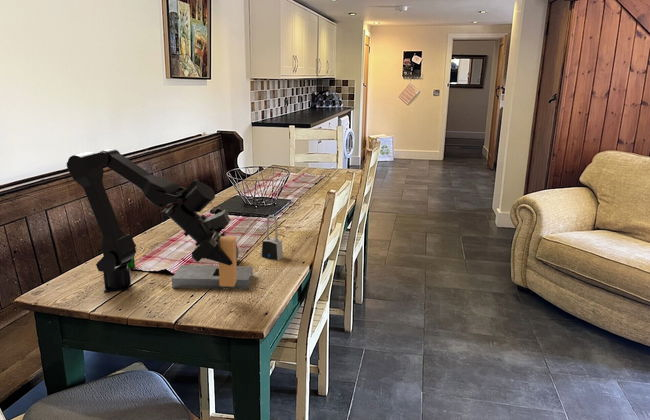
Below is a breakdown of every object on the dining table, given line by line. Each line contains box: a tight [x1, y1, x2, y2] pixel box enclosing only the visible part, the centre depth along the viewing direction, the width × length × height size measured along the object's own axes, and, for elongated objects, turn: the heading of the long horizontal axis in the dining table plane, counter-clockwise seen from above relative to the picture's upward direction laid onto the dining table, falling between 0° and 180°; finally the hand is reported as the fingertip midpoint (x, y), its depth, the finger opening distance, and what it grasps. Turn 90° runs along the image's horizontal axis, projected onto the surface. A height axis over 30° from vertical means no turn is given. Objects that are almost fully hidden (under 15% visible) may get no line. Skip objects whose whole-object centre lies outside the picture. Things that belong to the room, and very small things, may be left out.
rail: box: [171, 264, 254, 290], centre depth 144 cm, size 22×10×3 cm, turn 91°
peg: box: [218, 235, 237, 287], centre depth 130 cm, size 4×4×13 cm
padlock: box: [260, 214, 284, 261], centre depth 162 cm, size 7×4×15 cm, turn 65°
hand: (232, 261), depth 130 cm, fingers closed on peg, 4 cm apart
